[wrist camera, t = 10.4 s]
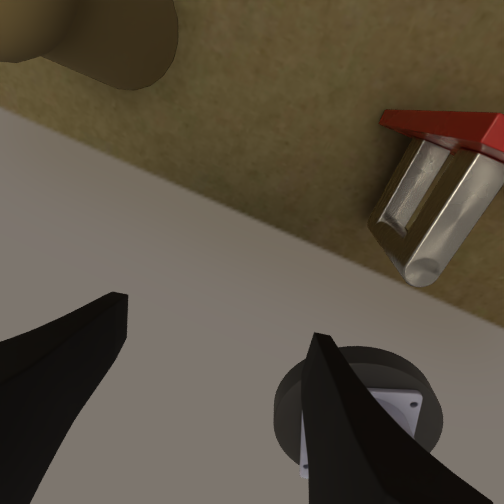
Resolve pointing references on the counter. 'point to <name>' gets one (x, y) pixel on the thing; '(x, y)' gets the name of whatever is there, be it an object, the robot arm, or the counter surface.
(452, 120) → the valve door
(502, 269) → the counter surface
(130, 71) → the brown pawn figure
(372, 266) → the counter surface
